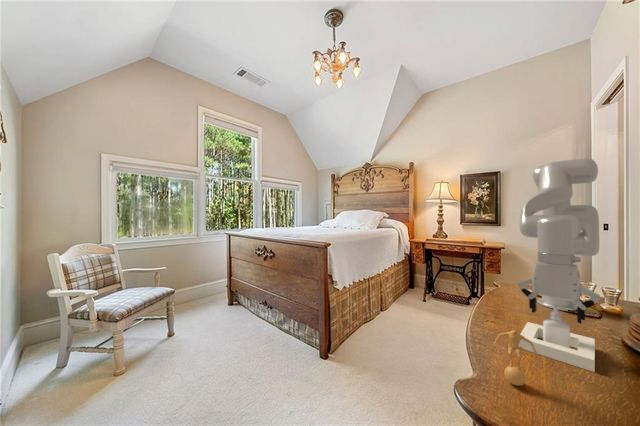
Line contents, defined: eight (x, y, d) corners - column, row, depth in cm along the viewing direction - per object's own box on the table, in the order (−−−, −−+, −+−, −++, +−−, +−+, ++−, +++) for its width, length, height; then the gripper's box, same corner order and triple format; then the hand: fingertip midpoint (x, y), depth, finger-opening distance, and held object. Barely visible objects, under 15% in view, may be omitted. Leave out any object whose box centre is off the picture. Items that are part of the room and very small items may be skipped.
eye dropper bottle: (568, 355, 68) (567, 312, 68) (541, 346, 72) (541, 306, 72) (571, 350, 70) (571, 308, 70) (545, 341, 75) (545, 303, 75)
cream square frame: (527, 330, 82) (527, 321, 82) (594, 349, 70) (594, 338, 70) (518, 347, 72) (518, 337, 72) (594, 372, 61) (594, 360, 61)
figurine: (492, 380, 58) (492, 331, 58) (495, 368, 63) (494, 322, 63) (539, 397, 53) (538, 342, 53) (538, 382, 57) (537, 331, 57)
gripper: (599, 260, 67) (600, 321, 68) (519, 253, 80) (520, 304, 81) (599, 266, 62) (600, 331, 63) (514, 257, 75) (516, 311, 76)
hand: (555, 316), depth 72 cm, fingers open, 9 cm apart
